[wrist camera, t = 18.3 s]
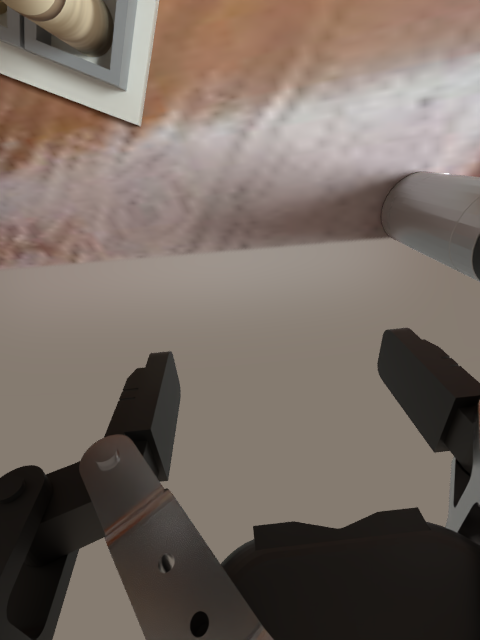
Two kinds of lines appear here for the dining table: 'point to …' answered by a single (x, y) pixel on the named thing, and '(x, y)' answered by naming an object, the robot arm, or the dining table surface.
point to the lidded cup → (72, 22)
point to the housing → (85, 59)
